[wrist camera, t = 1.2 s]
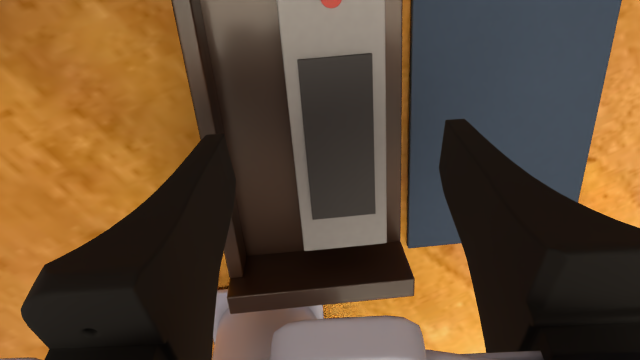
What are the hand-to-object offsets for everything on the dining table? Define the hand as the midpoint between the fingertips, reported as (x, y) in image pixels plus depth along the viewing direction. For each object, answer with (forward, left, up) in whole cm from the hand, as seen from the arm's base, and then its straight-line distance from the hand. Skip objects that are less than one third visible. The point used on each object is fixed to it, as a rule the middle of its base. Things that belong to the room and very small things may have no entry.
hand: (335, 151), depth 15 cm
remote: (-1, -1, -8) cm, 9 cm away
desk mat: (-2, -11, -11) cm, 15 cm away
